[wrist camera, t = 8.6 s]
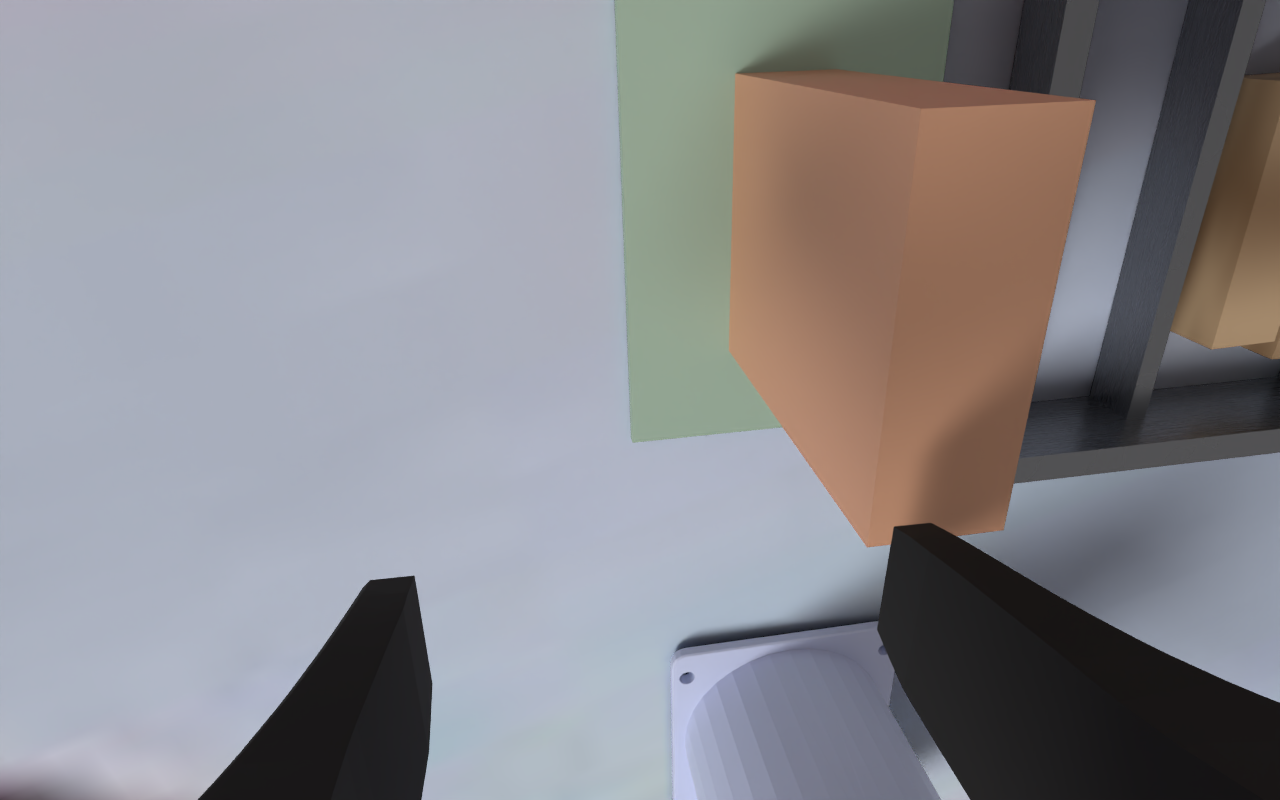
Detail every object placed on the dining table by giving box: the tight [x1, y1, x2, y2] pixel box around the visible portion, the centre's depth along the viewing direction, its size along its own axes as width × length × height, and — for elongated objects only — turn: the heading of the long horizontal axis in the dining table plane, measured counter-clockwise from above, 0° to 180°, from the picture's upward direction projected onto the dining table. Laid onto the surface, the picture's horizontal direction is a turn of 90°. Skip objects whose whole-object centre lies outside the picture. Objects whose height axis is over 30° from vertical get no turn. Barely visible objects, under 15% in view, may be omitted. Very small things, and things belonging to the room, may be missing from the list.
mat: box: [615, 0, 954, 443], centre depth 20 cm, size 12×8×1 cm, turn 2°
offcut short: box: [1170, 73, 1280, 349], centre depth 21 cm, size 7×2×2 cm, turn 3°
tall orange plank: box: [729, 69, 1096, 547], centre depth 16 cm, size 7×2×9 cm, turn 2°
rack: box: [1009, 0, 1280, 484], centre depth 20 cm, size 14×12×3 cm
